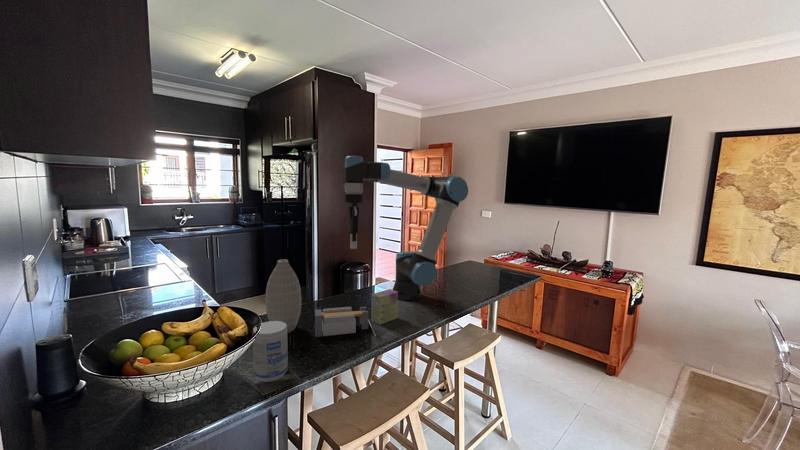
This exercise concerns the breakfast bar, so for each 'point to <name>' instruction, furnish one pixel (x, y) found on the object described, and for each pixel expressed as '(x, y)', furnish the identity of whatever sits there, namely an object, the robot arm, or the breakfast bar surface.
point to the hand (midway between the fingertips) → (353, 248)
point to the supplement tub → (270, 351)
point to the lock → (318, 323)
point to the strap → (342, 313)
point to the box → (384, 306)
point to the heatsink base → (343, 321)
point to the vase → (283, 295)
